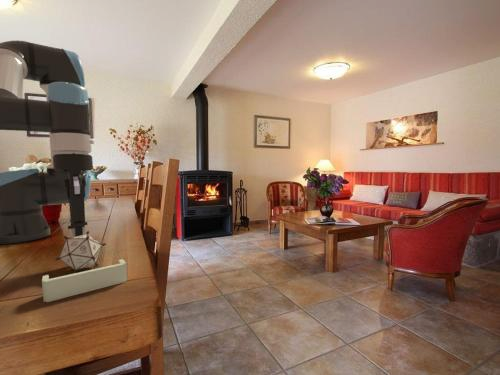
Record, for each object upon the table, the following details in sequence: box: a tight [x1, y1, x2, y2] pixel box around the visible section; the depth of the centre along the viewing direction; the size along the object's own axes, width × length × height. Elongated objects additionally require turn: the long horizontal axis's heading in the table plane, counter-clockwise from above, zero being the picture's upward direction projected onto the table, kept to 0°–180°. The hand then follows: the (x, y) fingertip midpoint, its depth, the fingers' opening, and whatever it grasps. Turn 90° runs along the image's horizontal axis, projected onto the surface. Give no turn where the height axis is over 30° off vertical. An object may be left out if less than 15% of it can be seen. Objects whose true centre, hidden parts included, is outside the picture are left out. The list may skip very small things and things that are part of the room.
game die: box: [54, 230, 107, 274], centre depth 57 cm, size 9×8×10 cm
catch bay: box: [41, 258, 128, 303], centre depth 48 cm, size 4×13×4 cm, turn 127°
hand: (80, 254), depth 61 cm, fingers closed
